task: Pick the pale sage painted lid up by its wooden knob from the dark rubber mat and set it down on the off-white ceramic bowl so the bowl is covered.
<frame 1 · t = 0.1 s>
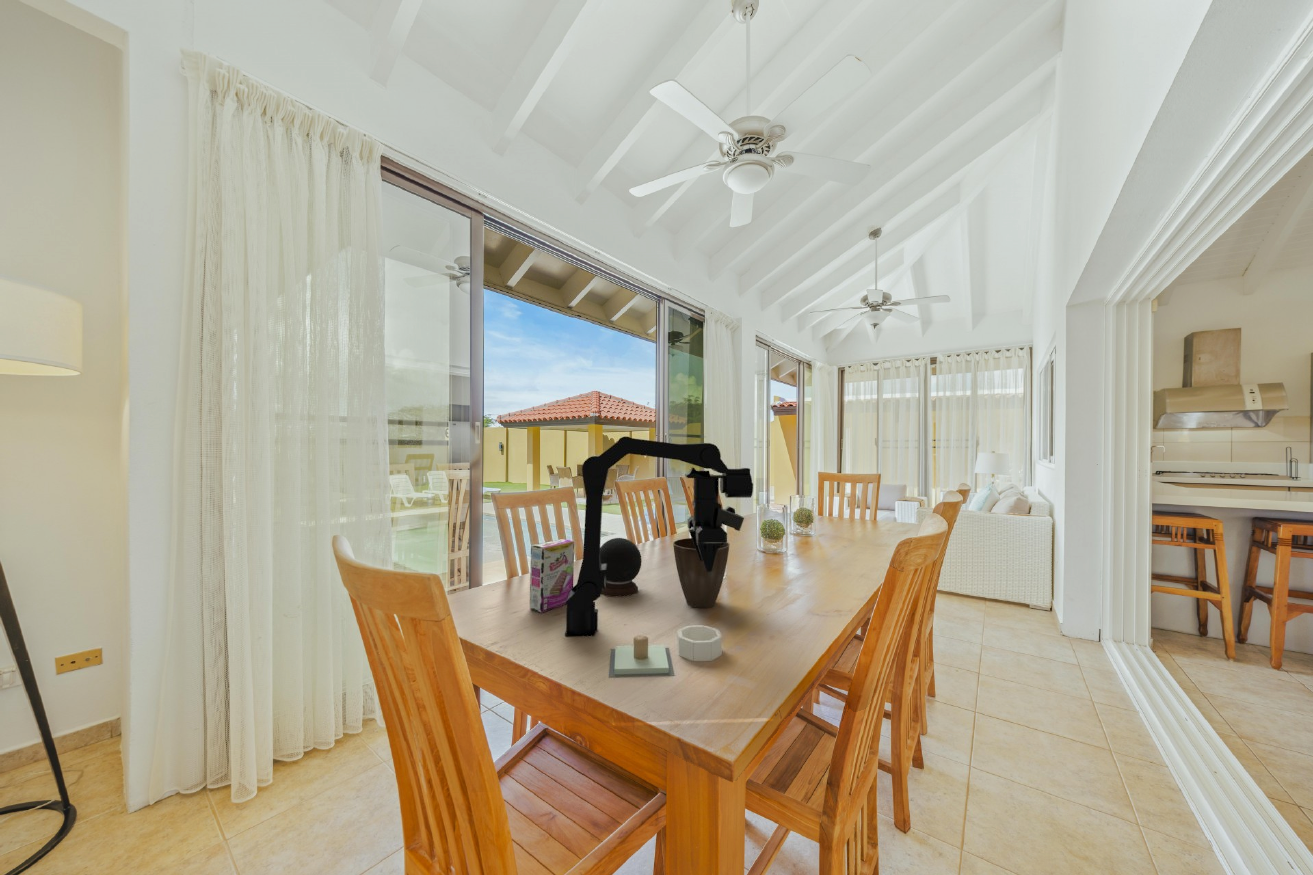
hand: (705, 565, 112), 15 cm above the table, fingers open, 9 cm apart
candy bar box: (552, 606, 128), on the table
plant pot: (700, 603, 130), on the table
black ball on stand: (618, 591, 141), on the table
bowl: (699, 653, 100), on the table
mat: (640, 663, 95), on the table
lid: (640, 661, 95), resting on mat
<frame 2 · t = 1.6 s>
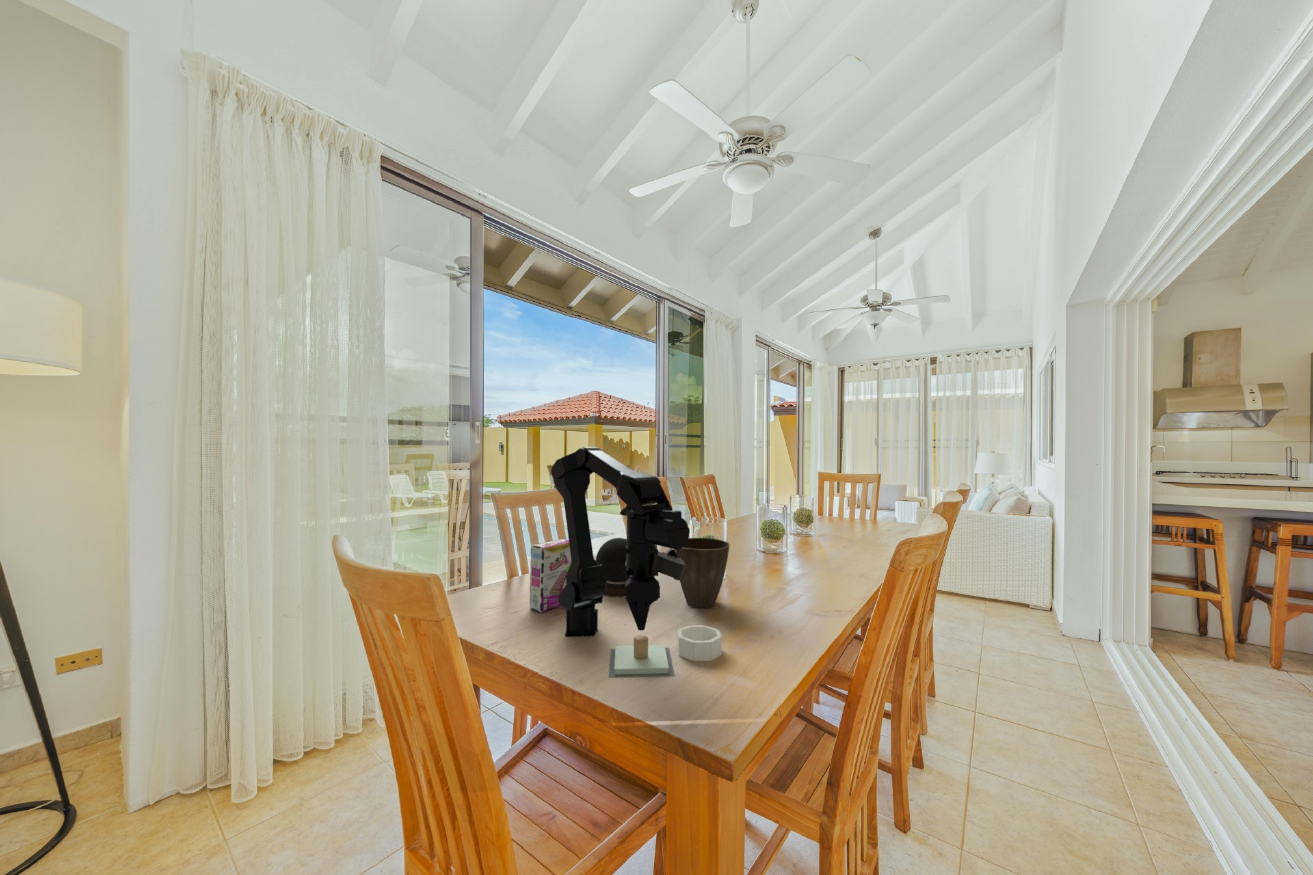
hand: (640, 620, 95), 8 cm above the table, fingers open, 9 cm apart
nothing on the table moved.
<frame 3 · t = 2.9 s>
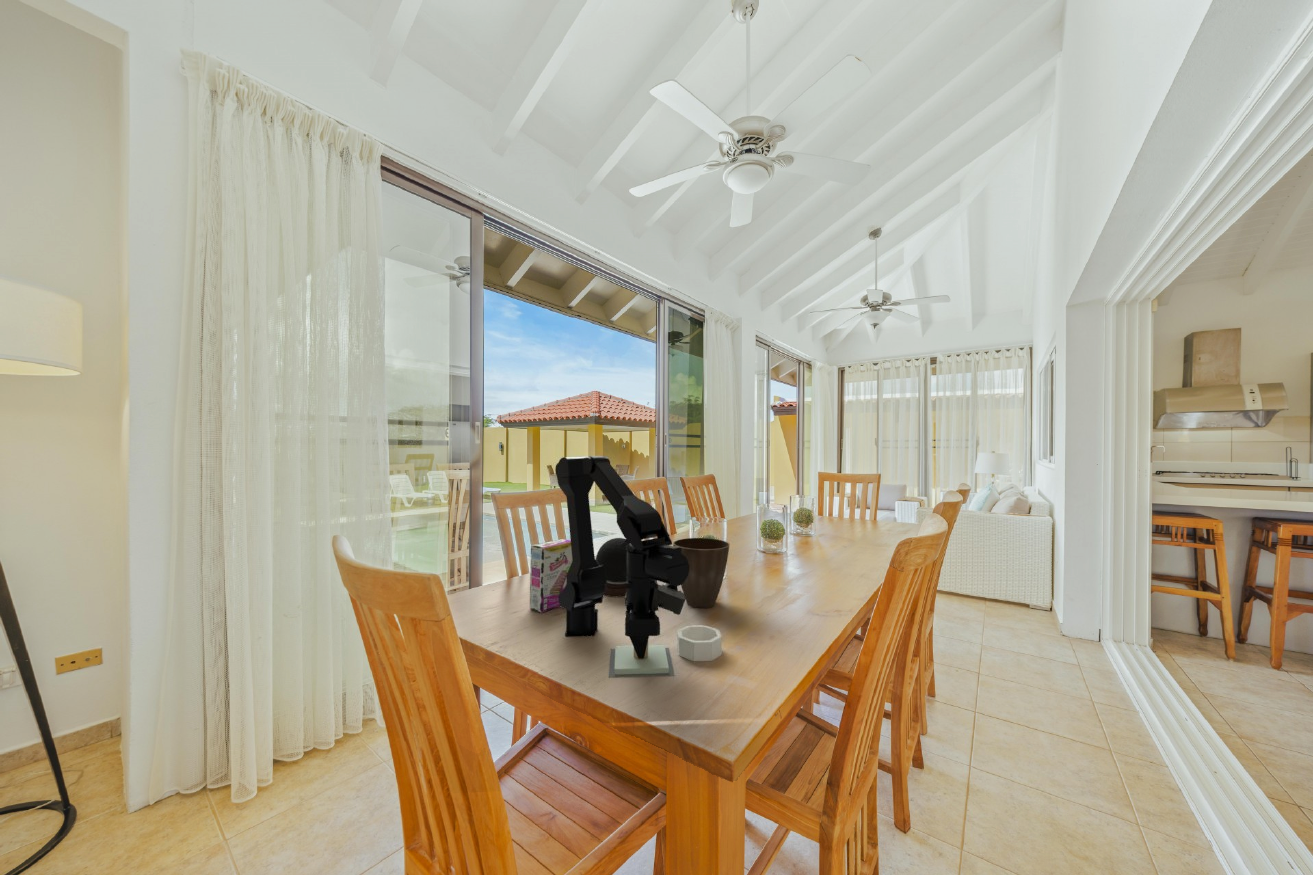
hand: (640, 654, 95), 2 cm above the table, fingers closed on lid, 3 cm apart
lid: (640, 661, 95), resting on mat, touching gripper
everything else where it was.
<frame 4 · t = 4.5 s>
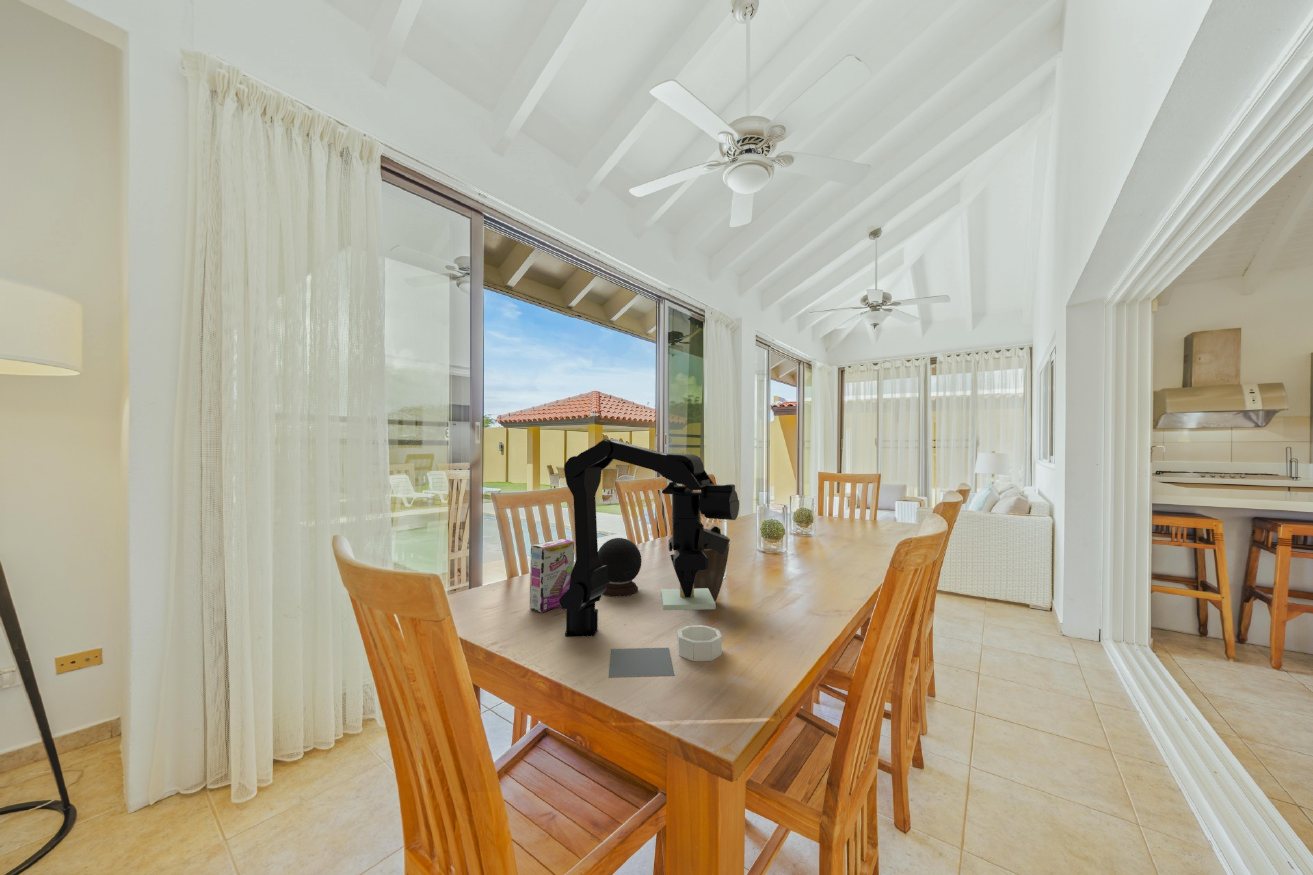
hand: (686, 594, 98), 12 cm above the table, fingers closed on lid, 3 cm apart
lid: (687, 601, 98), point 11 cm above the table, touching gripper
everything else where it was.
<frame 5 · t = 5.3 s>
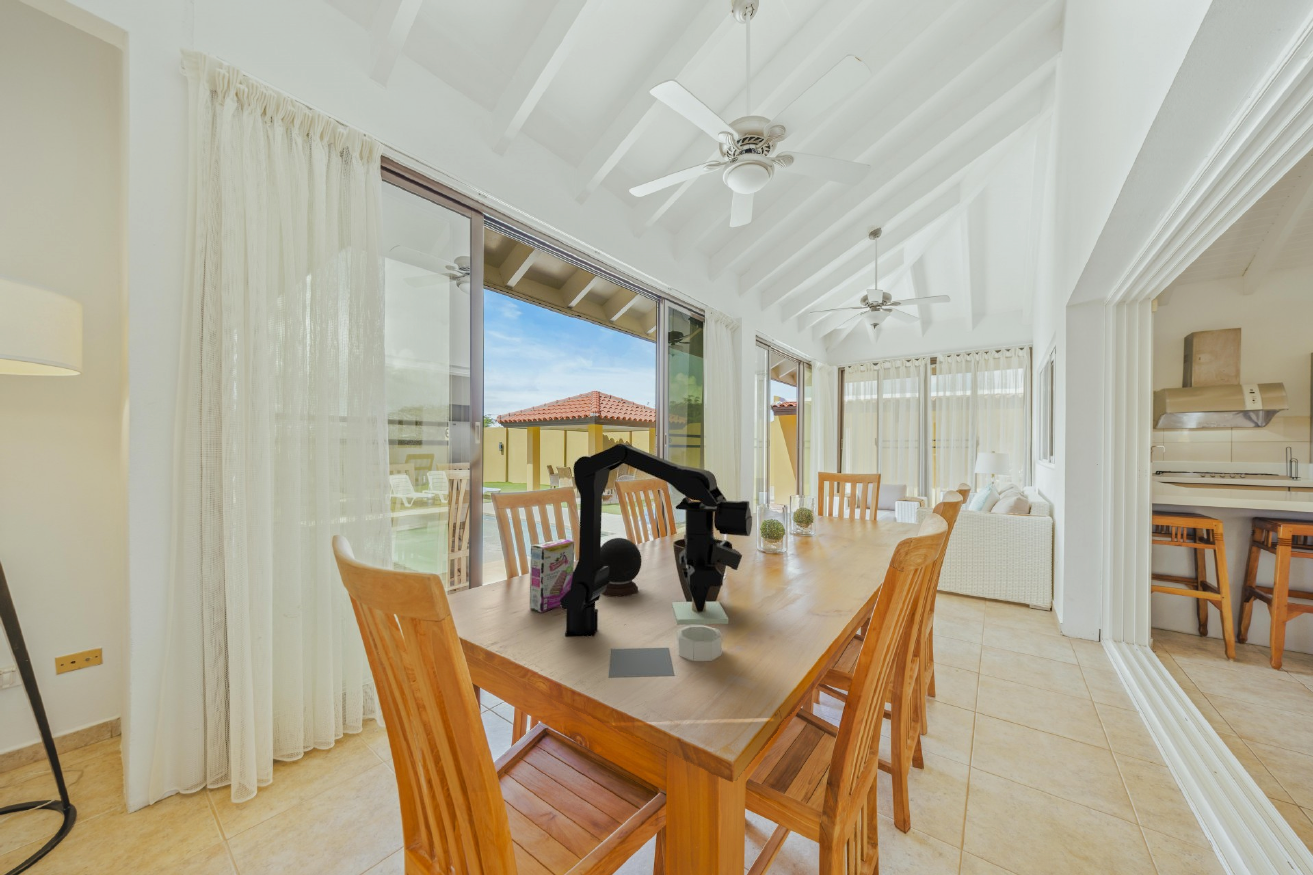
hand: (698, 608, 100), 9 cm above the table, fingers closed on lid, 3 cm apart
lid: (698, 614, 100), point 8 cm above the table, touching gripper
everything else where it was.
when the fingers open (7 cm above the table, at t = 5.9 s): lid drops 1 cm, resting on bowl.
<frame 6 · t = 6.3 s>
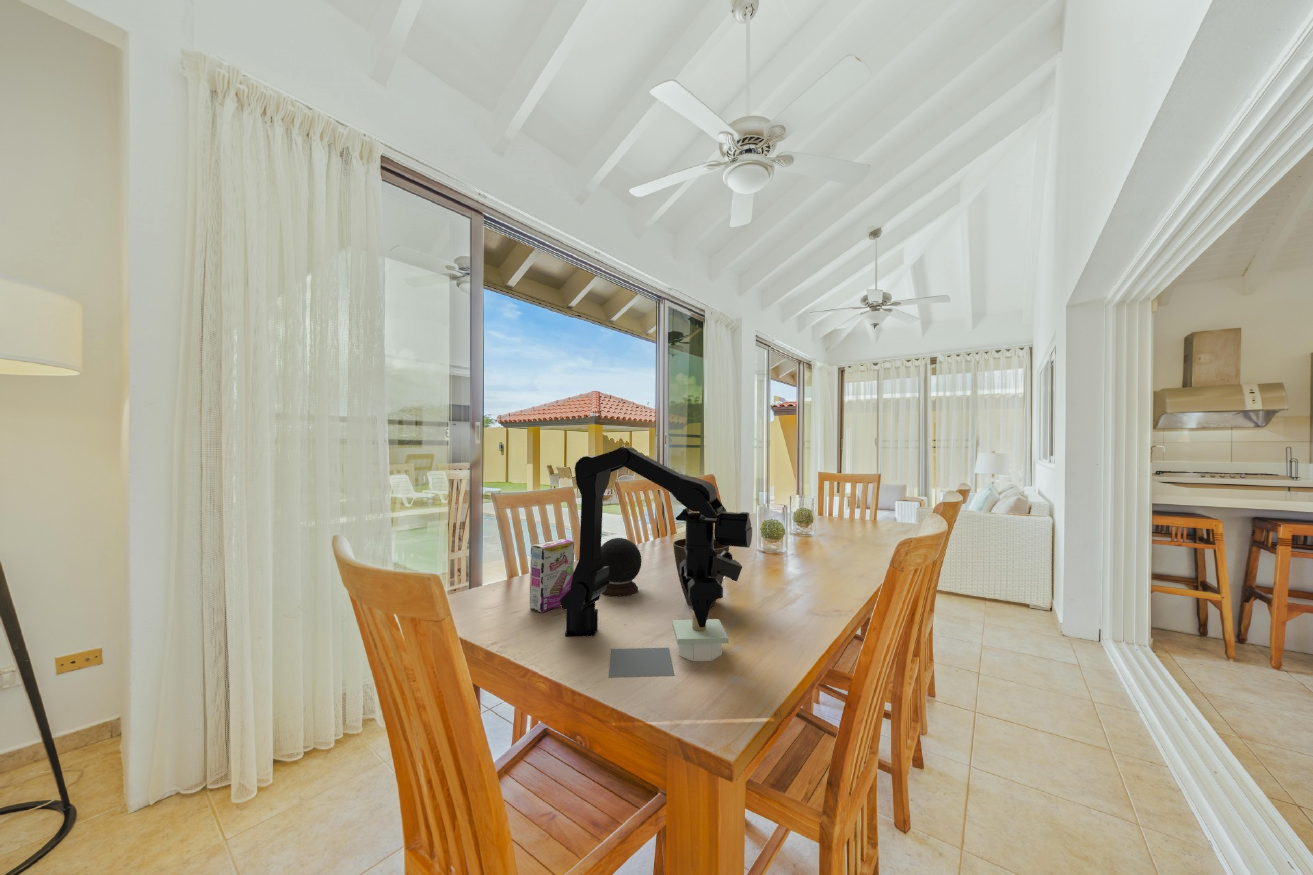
hand: (699, 619, 100), 7 cm above the table, fingers open, 7 cm apart
bowl: (699, 653, 100), on the table, touching lid
lid: (699, 633, 100), point 4 cm above the table, touching bowl
everything else where it was.
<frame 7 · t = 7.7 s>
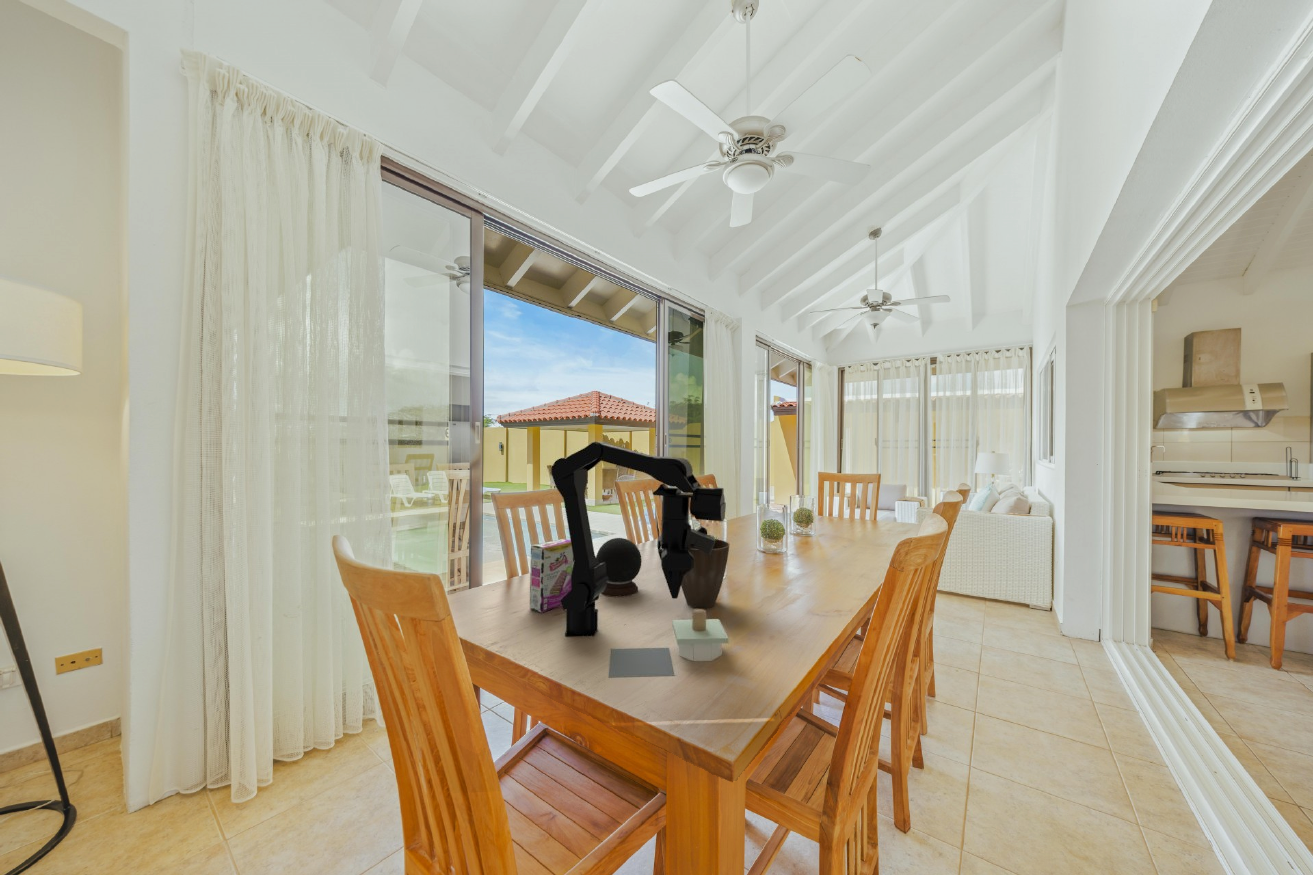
hand: (672, 590, 104), 11 cm above the table, fingers open, 9 cm apart
nothing on the table moved.
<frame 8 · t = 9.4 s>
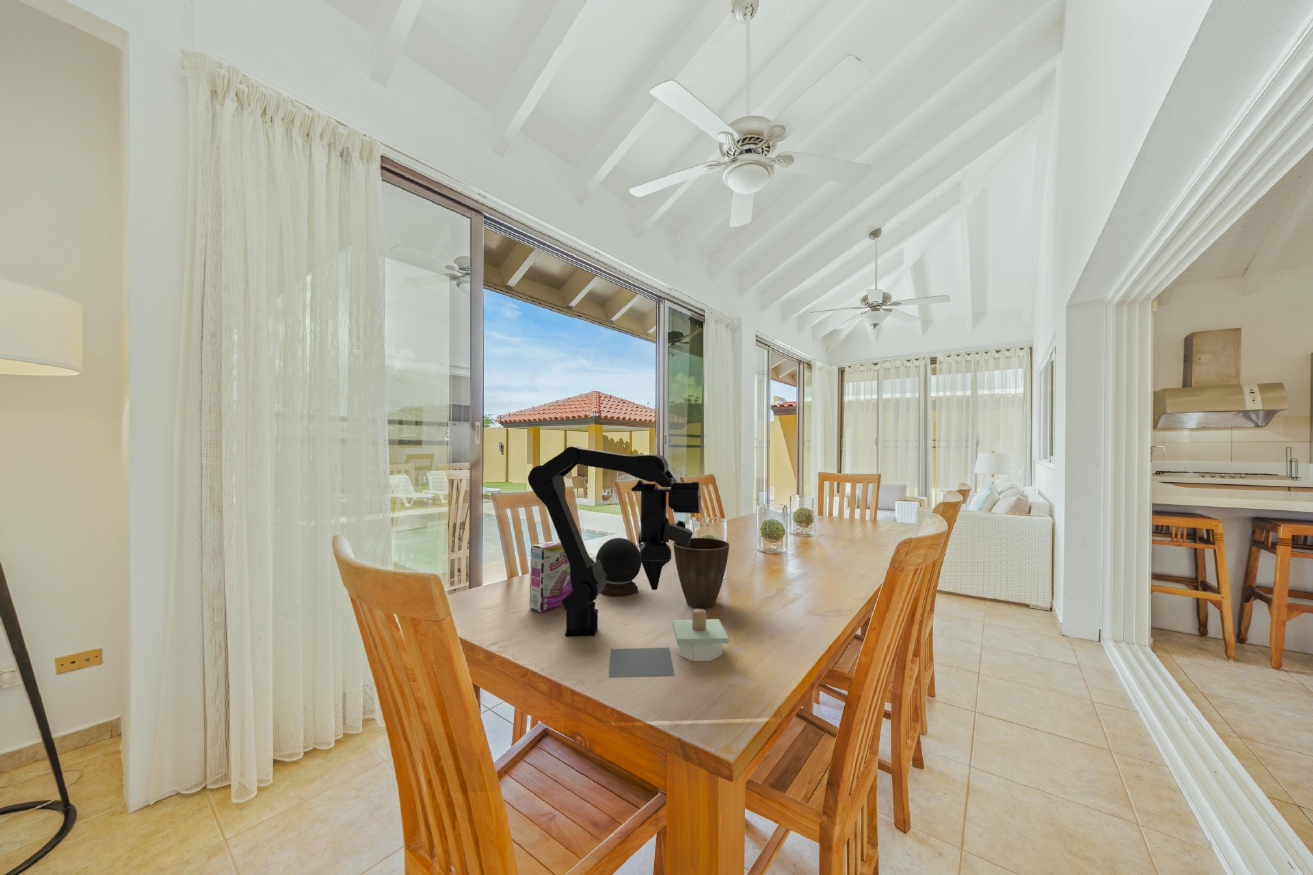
hand: (653, 583, 107), 12 cm above the table, fingers open, 9 cm apart
nothing on the table moved.
at the end: lid 0.0 cm off-centre on the bowl, point 4.0 cm above the bowl's base; lid tilted 0°; the gripper is holding nothing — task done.
